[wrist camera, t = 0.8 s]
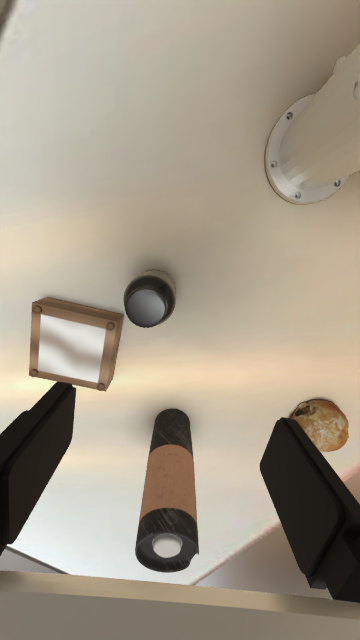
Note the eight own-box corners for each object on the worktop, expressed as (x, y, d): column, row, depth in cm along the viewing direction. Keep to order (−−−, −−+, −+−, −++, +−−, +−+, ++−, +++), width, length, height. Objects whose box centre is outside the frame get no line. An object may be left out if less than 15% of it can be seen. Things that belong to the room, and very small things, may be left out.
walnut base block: (47, 297, 36) (30, 303, 32) (124, 315, 37) (116, 323, 33) (43, 363, 40) (27, 377, 35) (112, 378, 41) (104, 393, 36)
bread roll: (308, 382, 45) (317, 397, 38) (356, 417, 43) (376, 440, 35) (278, 415, 48) (281, 435, 40) (321, 449, 45) (333, 478, 38)
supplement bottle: (130, 301, 36) (107, 324, 25) (142, 263, 34) (124, 267, 23) (168, 315, 37) (162, 343, 25) (182, 278, 35) (183, 291, 24)
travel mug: (148, 413, 43) (123, 540, 24) (184, 403, 42) (188, 526, 23) (160, 441, 45) (147, 578, 26) (195, 432, 44) (207, 566, 25)
